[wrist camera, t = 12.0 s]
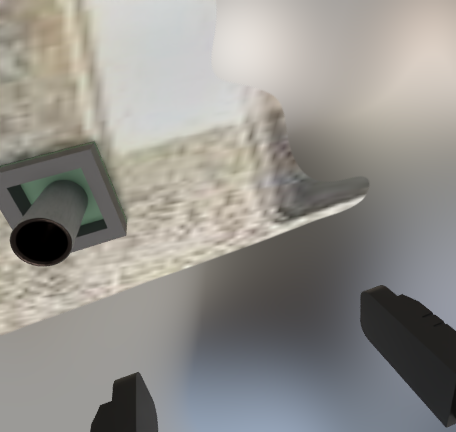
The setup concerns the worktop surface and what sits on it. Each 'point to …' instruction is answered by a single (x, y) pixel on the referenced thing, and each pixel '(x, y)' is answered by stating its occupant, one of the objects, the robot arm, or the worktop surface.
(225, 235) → the worktop surface
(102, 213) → the socket board
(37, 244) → the dark grey cylinder
